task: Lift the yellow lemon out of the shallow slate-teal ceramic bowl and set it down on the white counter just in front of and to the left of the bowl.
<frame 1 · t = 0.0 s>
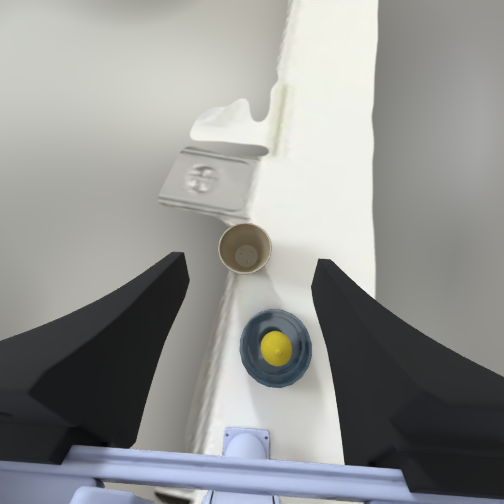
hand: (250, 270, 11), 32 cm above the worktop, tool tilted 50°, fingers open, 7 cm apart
lemon: (273, 343, 40), resting on bowl
flower pot: (246, 256, 45), on the worktop
bowl: (273, 343, 40), on the worktop
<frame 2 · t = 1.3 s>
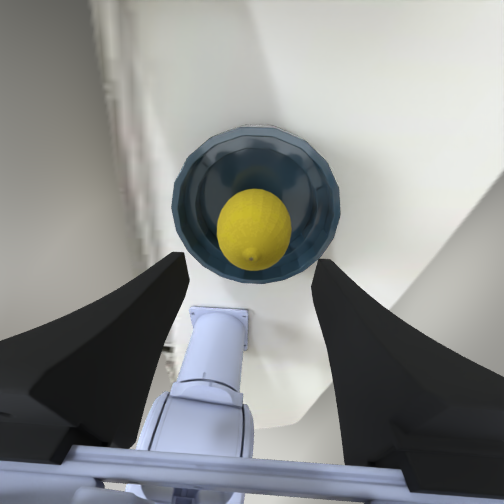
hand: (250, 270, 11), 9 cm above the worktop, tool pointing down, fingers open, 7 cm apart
lemon: (255, 207, 19), resting on bowl
bowl: (255, 206, 19), on the worktop
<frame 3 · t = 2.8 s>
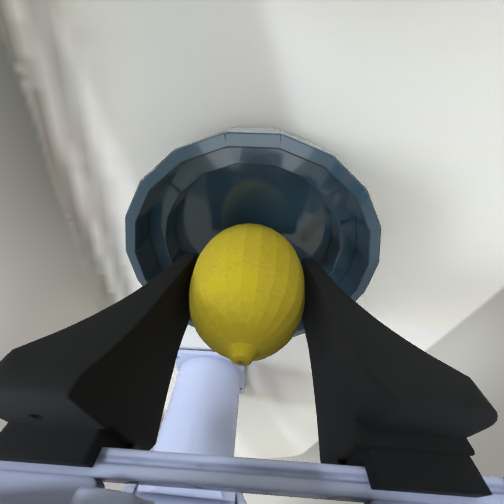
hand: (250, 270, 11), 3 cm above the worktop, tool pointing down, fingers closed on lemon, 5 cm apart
lemon: (252, 239, 14), resting on bowl, touching gripper
bowl: (252, 238, 14), on the worktop
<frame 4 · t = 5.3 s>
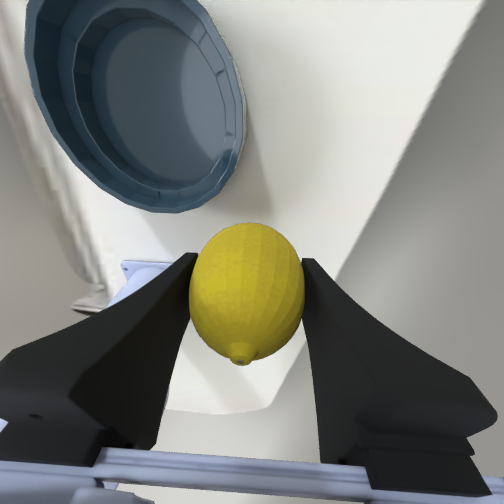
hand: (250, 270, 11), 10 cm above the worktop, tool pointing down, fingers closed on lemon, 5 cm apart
lemon: (252, 239, 14), point 7 cm above the worktop, touching gripper
bowl: (164, 117, 16), on the worktop
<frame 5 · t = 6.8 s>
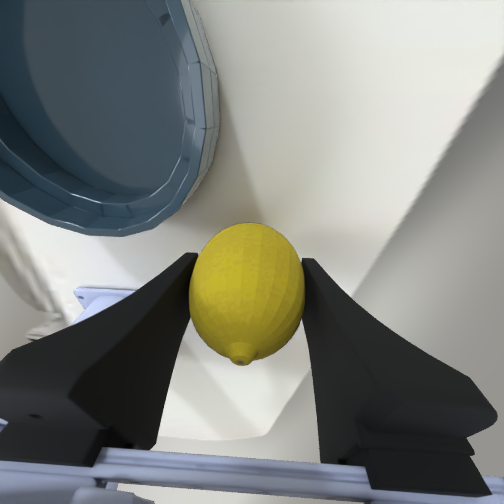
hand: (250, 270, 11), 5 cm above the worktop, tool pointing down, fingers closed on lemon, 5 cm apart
lemon: (252, 239, 14), point 2 cm above the worktop, touching gripper
bowl: (101, 99, 11), on the worktop
when the fingers open (3 cm above the worktop, at t = 8.0 s): lemon stays where it is, on the worktop.
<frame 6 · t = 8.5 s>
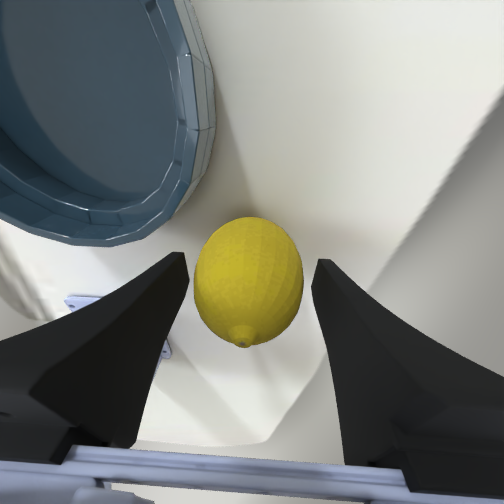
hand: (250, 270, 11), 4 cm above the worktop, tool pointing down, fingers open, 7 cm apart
lemon: (253, 234, 14), on the worktop
bowl: (86, 97, 10), on the worktop
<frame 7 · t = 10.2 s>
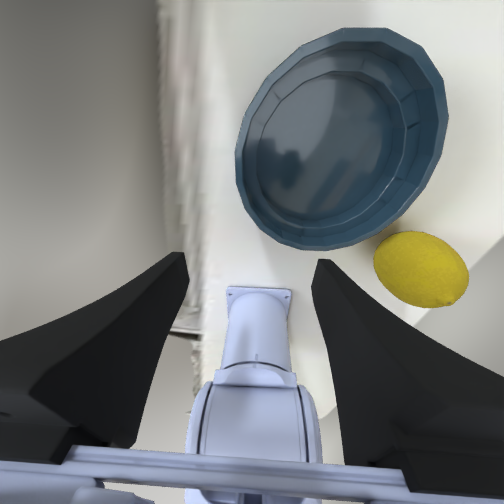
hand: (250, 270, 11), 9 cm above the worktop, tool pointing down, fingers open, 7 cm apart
lemon: (388, 240, 20), on the worktop
bowl: (320, 159, 16), on the worktop
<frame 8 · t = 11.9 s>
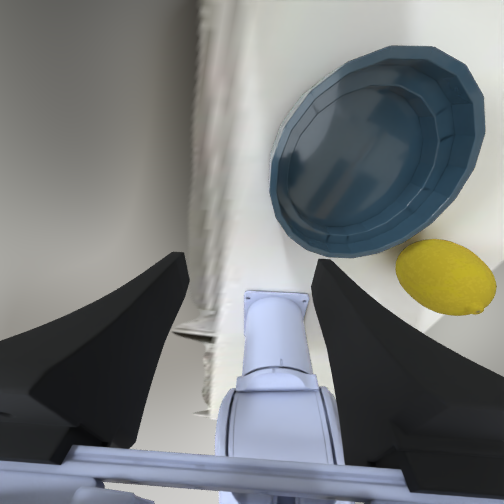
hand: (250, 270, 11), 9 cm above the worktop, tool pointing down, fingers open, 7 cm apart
lemon: (408, 247, 21), on the worktop
bowl: (348, 168, 16), on the worktop
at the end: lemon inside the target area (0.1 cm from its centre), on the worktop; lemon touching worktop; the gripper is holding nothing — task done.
